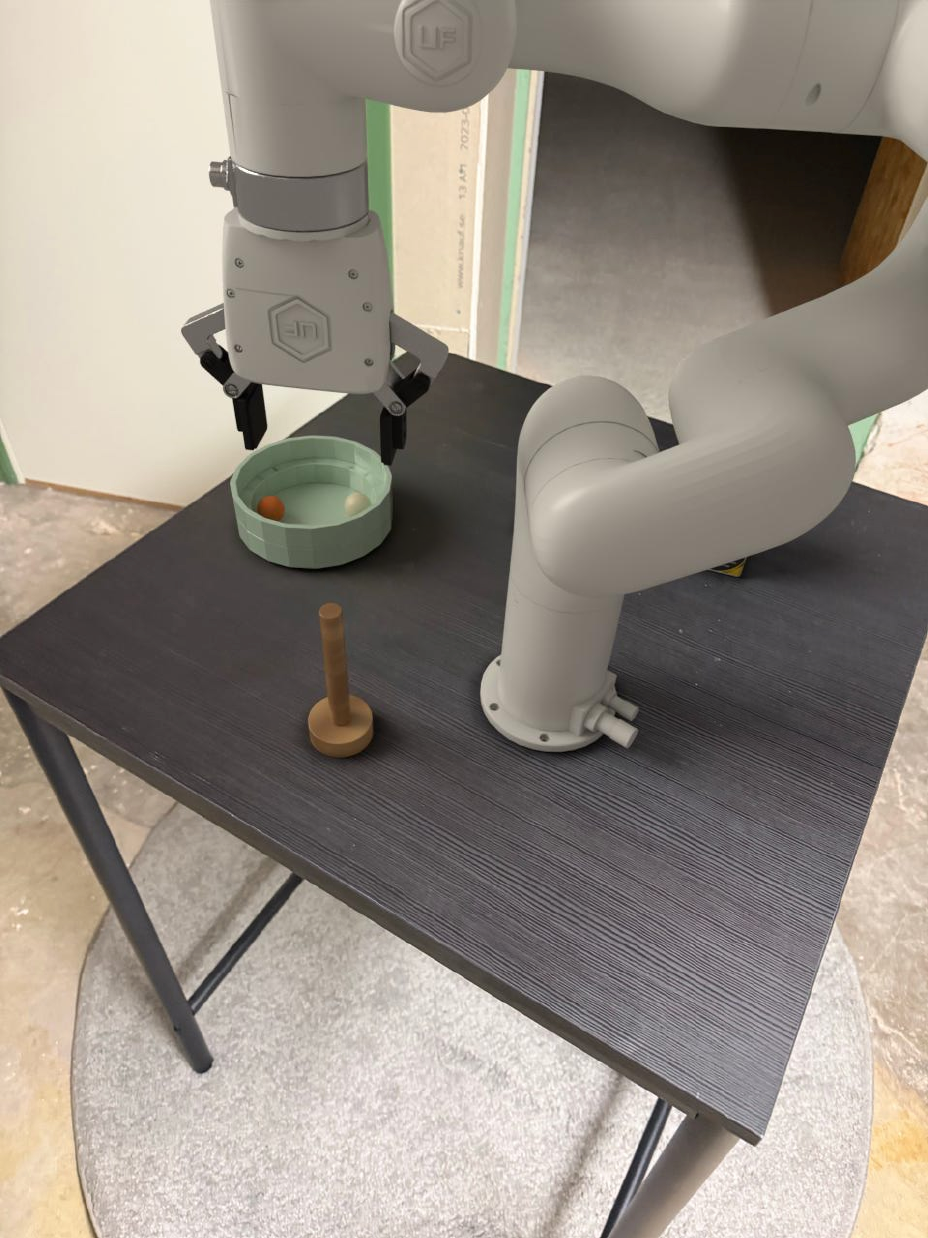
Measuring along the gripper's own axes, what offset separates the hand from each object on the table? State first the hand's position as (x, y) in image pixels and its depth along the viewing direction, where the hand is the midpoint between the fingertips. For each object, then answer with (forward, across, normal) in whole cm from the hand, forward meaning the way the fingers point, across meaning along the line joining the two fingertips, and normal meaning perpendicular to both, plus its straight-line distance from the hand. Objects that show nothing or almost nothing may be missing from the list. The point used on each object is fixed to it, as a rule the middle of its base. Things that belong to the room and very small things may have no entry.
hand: (323, 447), depth 61 cm
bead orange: (+25, -14, +24) cm, 37 cm away
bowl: (+27, -9, +25) cm, 38 cm away
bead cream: (+25, -4, +26) cm, 36 cm away
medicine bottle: (+27, +36, +28) cm, 53 cm away
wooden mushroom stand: (+27, +1, -4) cm, 27 cm away
